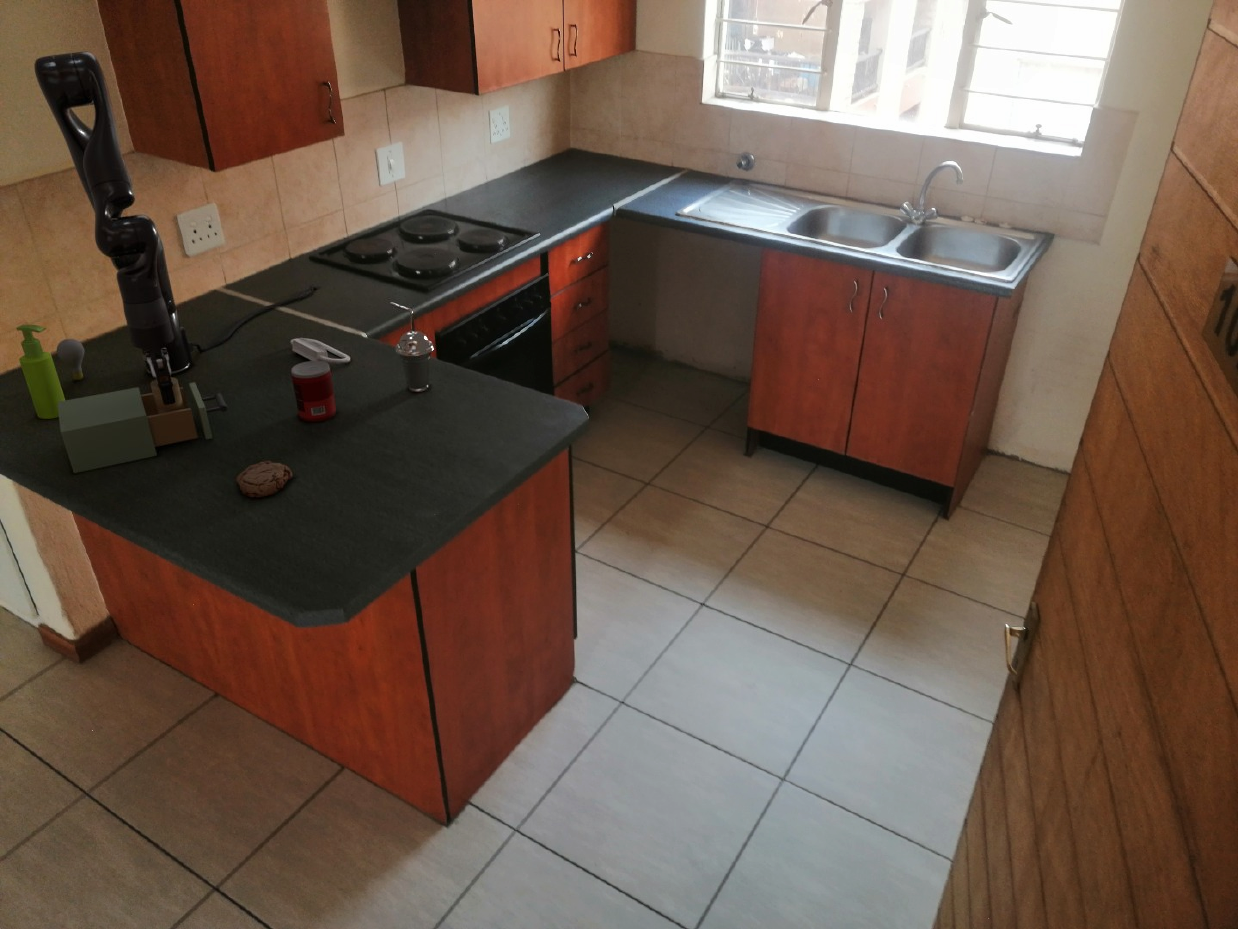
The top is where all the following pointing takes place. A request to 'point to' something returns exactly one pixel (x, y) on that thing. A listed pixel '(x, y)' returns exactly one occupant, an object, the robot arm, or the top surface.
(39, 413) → the soap dispenser
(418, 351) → the cup with straw
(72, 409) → the cabinet
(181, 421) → the drawer
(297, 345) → the white long looped piece
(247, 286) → the top surface
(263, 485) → the cookie
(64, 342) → the light bulb
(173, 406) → the roller
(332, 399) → the canned food
